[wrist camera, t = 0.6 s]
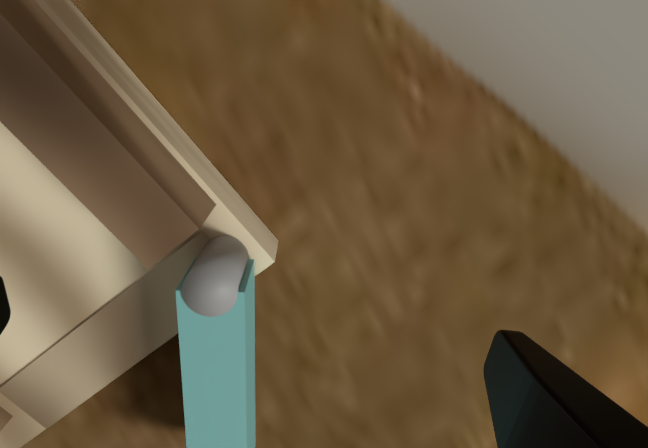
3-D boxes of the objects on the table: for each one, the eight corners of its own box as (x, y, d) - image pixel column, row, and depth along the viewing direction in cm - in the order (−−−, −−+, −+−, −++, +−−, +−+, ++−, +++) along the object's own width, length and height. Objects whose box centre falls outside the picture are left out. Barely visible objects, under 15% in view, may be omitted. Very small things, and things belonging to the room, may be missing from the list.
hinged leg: (194, 234, 19) (172, 266, 16) (254, 236, 19) (243, 268, 16) (207, 483, 23) (192, 545, 20) (255, 483, 23) (247, 545, 20)
